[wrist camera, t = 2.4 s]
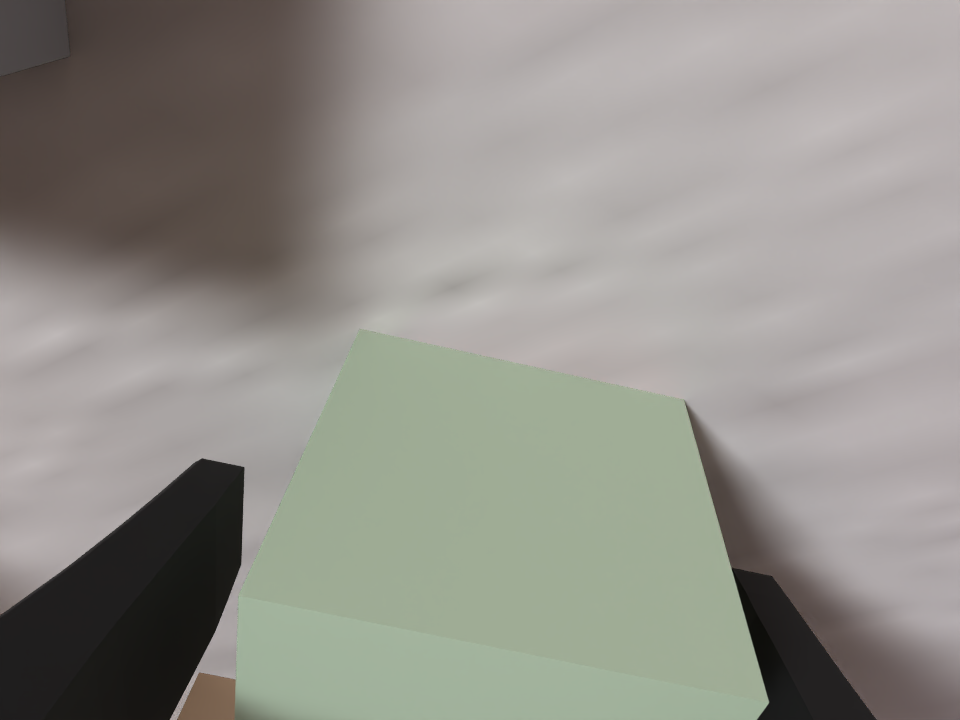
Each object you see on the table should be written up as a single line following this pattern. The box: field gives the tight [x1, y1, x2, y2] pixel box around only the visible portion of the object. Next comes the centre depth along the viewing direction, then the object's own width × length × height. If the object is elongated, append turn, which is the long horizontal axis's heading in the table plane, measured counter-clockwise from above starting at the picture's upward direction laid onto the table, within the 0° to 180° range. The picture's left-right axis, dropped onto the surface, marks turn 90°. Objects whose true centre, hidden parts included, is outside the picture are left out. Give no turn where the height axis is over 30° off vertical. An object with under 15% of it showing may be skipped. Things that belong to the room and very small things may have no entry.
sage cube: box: [234, 329, 769, 720], centre depth 10 cm, size 5×5×5 cm
